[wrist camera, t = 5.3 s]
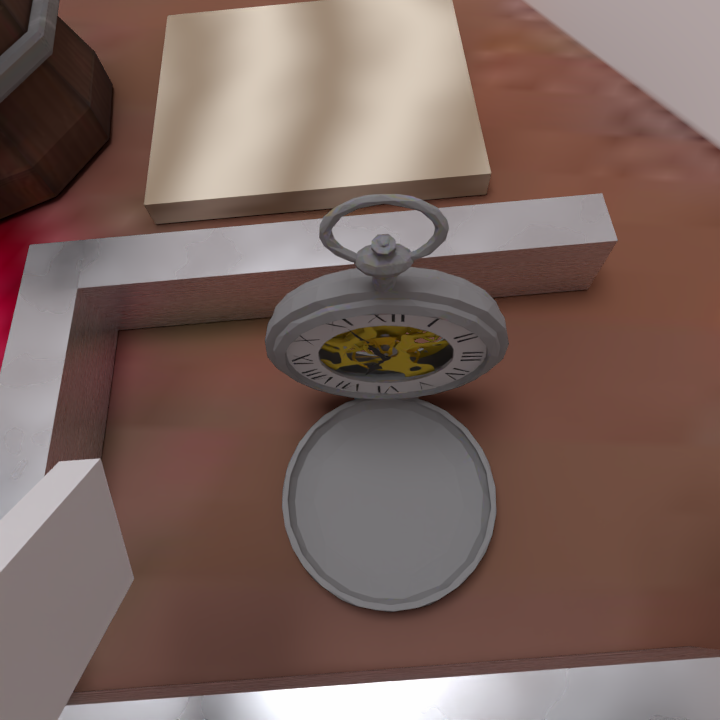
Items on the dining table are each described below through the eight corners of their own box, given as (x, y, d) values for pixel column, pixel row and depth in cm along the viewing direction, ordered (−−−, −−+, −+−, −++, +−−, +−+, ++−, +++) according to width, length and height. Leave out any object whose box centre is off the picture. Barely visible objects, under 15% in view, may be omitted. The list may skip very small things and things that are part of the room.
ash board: (155, 224, 23) (143, 204, 22) (176, 38, 28) (167, 15, 27) (486, 194, 23) (491, 173, 22) (447, 12, 28) (449, -12, 27)
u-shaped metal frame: (-225, 797, 15) (-360, 839, 12) (-72, 303, 22) (-138, 259, 19) (715, 729, 15) (789, 757, 12) (575, 246, 21) (601, 193, 19)
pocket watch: (358, 659, 16) (315, 728, 7) (227, 429, 19) (78, 265, 10) (572, 500, 17) (771, 382, 8) (418, 313, 20) (440, 78, 11)
